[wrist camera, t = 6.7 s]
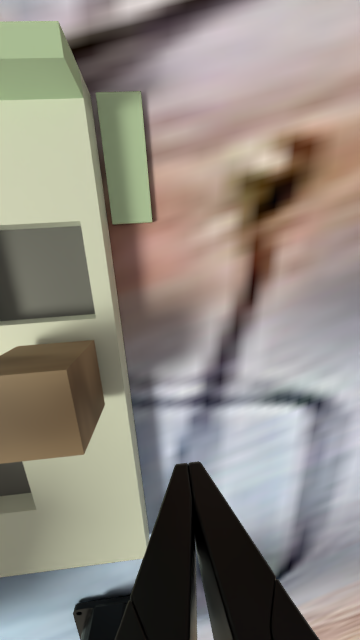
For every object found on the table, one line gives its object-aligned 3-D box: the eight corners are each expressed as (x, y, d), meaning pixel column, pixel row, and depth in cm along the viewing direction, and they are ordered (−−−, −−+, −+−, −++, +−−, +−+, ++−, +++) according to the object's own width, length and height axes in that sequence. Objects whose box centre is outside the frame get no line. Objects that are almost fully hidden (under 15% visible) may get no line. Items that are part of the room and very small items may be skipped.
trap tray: (179, 530, 19) (182, 590, 15) (-27, 557, 18) (-72, 626, 14) (141, 94, 11) (130, 20, 8) (-216, 103, 10) (-400, 25, 7)
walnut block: (107, 398, 14) (84, 454, 10) (39, 405, 13) (-14, 465, 9) (97, 336, 13) (66, 369, 9) (24, 342, 12) (-43, 379, 8)
